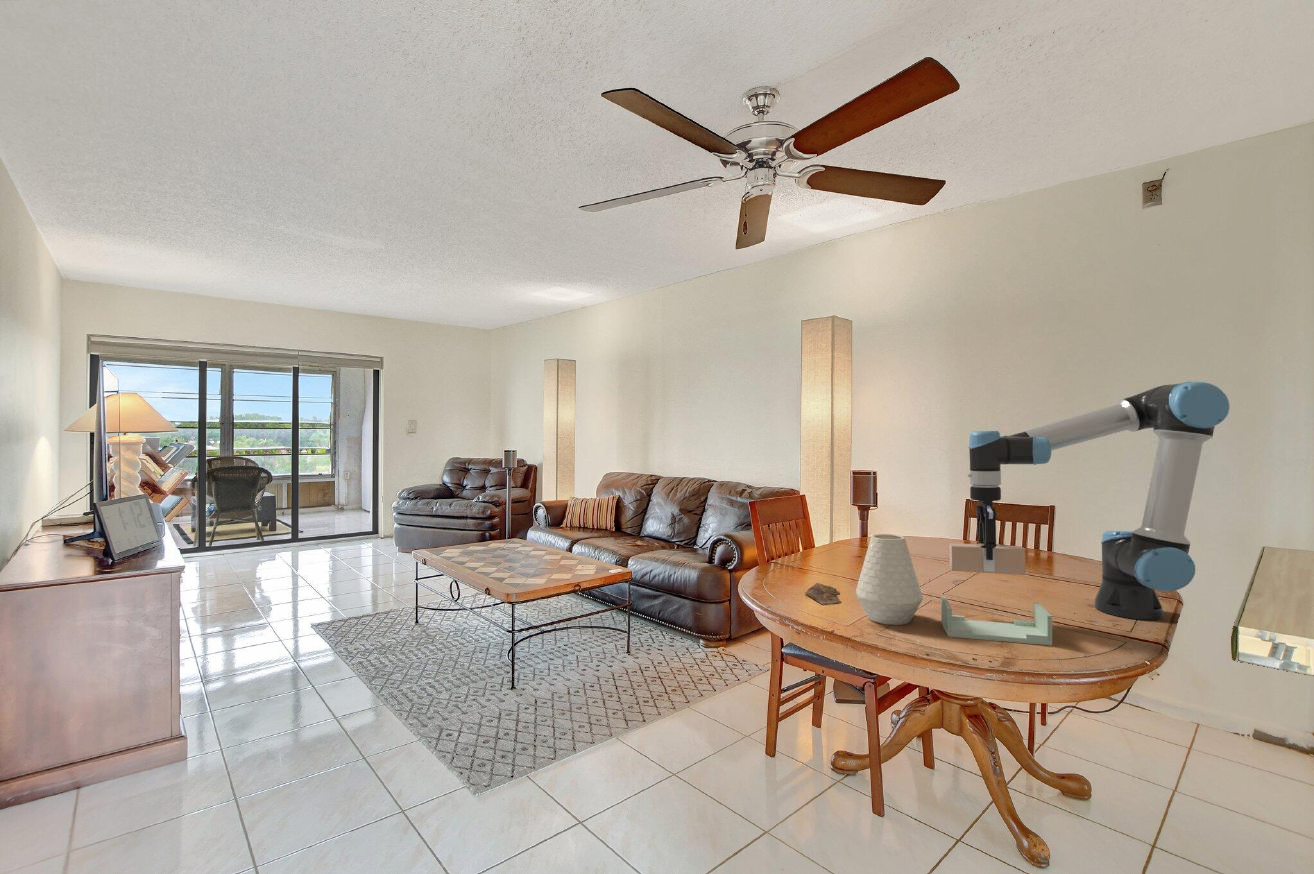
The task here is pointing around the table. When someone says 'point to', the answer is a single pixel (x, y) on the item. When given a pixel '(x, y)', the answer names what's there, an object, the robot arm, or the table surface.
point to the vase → (888, 581)
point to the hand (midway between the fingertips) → (986, 568)
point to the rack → (999, 627)
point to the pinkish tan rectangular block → (972, 559)
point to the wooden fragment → (823, 594)
